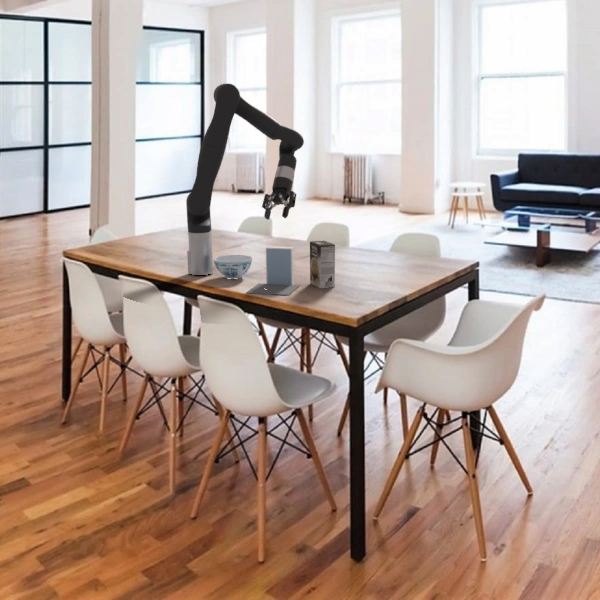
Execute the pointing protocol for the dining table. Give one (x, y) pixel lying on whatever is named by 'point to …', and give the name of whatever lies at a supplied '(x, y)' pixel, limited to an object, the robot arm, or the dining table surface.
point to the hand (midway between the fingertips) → (275, 218)
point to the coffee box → (322, 264)
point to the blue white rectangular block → (280, 265)
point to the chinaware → (233, 265)
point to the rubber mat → (273, 289)
